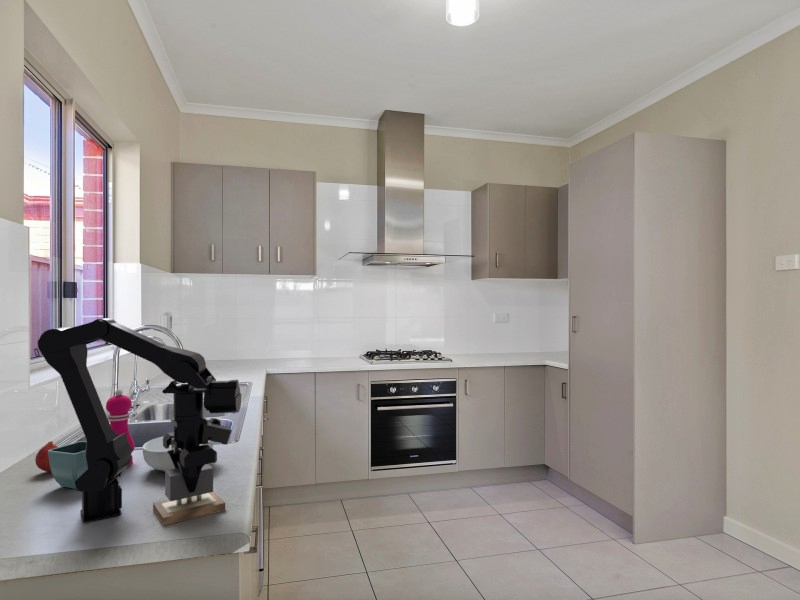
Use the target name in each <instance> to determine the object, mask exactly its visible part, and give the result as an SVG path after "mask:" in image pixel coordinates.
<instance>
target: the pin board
mask: <svg viewBox="0 0 800 600" xmlns="http://www.w3.org/2000/svg"><path fill="white" fill-rule="evenodd" d="M152 504H153V505H152V510H153V512H154V514H155V515H156V517H157V518H158V519H159V521H160V523H161V524H162V526H167V525H171V524H175V523H178V522H182V521H186V520H190V519H194V518H200V517H202V516H207V515H211V514H215V513H218V512H222V511H226V502H225V501H224V500H223V499H222V498H221V497H220V496H219V495H218V494H217V493H216V492H215V491H214V490H213V492H210V493H206V494H202V500H201V501H197V496H193V497H192V502H191V503H187V498H184V499H182V505H180V506H177V505H176V500H175V501H171V502H170V500H169V499H168V498H167V499H164V500H160V501H156V502H155V501H154V502H153V503H152Z"/></svg>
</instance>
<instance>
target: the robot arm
mask: <svg viewBox="0 0 800 600" xmlns="http://www.w3.org/2000/svg"><path fill="white" fill-rule="evenodd" d="M101 340H102V341H104V342H107V343H109V344H111V345H113V346H116V347H117V348H120V349H122V350H124V351H127V352H129V353H131V354H132V355H135V356H136V357H139V358H142V359H143V360H145V361H147V362H150V363H152V364H154V366H156V367H158V368H159V370H161V372H162V373H163V374H165V375H166V376H168V377H169V378H171V379H172V381H170V382H169V384H168V385H167V386H166V387H165V388H164V389H162V391H161V392H162V394H173V417H171V419H170V424H172V425H173V431H172V432H171V431H170V432H167V433H166V434H165V435H163V436H164V437H163V436H162V437H163V447H164V448H165V449H168V448H169V445H171V450H170V451H167V453H168V455H169V457H170V459H171V461H172V463H173V465H174V467H175V468H179V469H180V471H181V474H182V476H183V479H184V481H185V484H186V486H187V489H188V491H189V492H190V493H191V492H195V489H196V486H197V482H198V479H199V475H200V472H201V469H202V467H203V466H204V465H205V464H209V465H210V464H214V463H217V462H218V452H217V451H216V450H215V449H214V448H213V449H212V448H211V447H210V446H209V445H201V446H200V444H208V440H209V441H213V443H214V442H215V443H221V444H222V445H226V446H227V445H228V443H229V441H230V438H231V434H232V432H233V431H232V430H233V429H232V428H230V427H228V426H226V425H222V424H221V420H220V419H218V418H216V417H215V418H214V417H211V418H210V419H209V420H208V419H207V418H206V417H204V408H205V411H208V412H209V413H210V414H227V413H228V414H232V413H233V414H234V413H236V414H237V413H240V410H241V406H242V392H241V388H240V385H239V379H230V380H217V379H216V378H215V376H214V375H213V374H212V373H211V371H210V370H209V368H208V367H207V366H206V360H205V357H204V356H203V355H202V354H201V353H199V352H196V351H191V350H188V349H184V348H180V347H173V346H170V345H167V344H164V343H162V342H160V341H157V340H155V339H153V338H151V337H148V336H146V335H144V334H142V333H140V332H138V331H136V330H133V328H130V327H127V326H125V325H123V324H121V323H119V322H117V321H116V320H115V319H112V318H110V317H109V318H108V317H107V318H97V319H94V320H93V321H91V322H87V323H84V324H80V325H75V326H65V327H58V328H57V327H56V328H51V329H47V330H46V331H43V332H42V333H41V335H40V337H39V338H38V340H37V348H38V350H39V352H40V354H41V355H42V357H43V358H44V360H45V362H46V363H47V364H48V365H49V366H50V367H51V368H52V369H53V370H54V371H56V372H57V373H58V374H59V376H60V377H61V380H62V382H63V385H64V388H65V390H66V392H67V394H68V398H69V401H70V402H71V405H72V408H73V410H74V412H75V415H76V417H77V419H78V422H79V425H80V427H81V429H82V432H83V435H84V436H85V441H86V454H85V458H86V463H87V468H88V469H87V470H86V471H85V472H84V473H83V474H82V475H81V476H80V477H79V478H78V479H77V480H76V481H75V486H76V488H77V489H76V490H77V492H78V493H80V492H81V509H80V511H79V512H80V515H81V518H82V522H83V523H89V522H93V521H99V520H102V519H105V518H110V517H114V516H119V515H121V513H122V512H121V509H122V508H123V489H122V487H121V485H120V482H119V480H118V478H120V477H121V476H122V474H123V471H124V470H125V469H126V468H127V467H129V466H130V465H129V463H130V461H131V459H132V457H133V455H132V453H131V451H132V450H133V448H132V447H131V446H130V445H129V442H128V438H127V435H126V433H123V434H122V435H120V436H119V435H118V434H117V433H116V432H114V431H113V430H112V428H111V426H110V421H109V420H108V415H107V414H106V411H105V409H104V406H103V404H102V402H101V399H100V396H99V394H98V392H97V389H96V387H95V384H94V382H93V381H94V380H93V379H92V377H91V373H90V371H89V369H88V366H87V363H88V347H87V345H89V344H92V343H96V342H97V341H101ZM128 465H129V466H128Z"/></svg>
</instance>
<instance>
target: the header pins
mask: <svg viewBox="0 0 800 600" xmlns="http://www.w3.org/2000/svg"><path fill="white" fill-rule="evenodd" d="M201 500H202V494H201V495H197V501H201ZM191 502H192V497H188V498H187V503H191ZM176 505H177V506H180V505H182V499H180V500H176Z"/></svg>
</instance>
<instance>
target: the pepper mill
mask: <svg viewBox="0 0 800 600" xmlns="http://www.w3.org/2000/svg"><path fill="white" fill-rule="evenodd" d="M123 392H124V391H123V390H122V389H120V388H119V389H116V390H115V391H114V394H115V395H113V396H111V397H109V398H108V399H107V401H106V402H105V403H106V404H105V410H106V411H107V412H108V415H107V419H108V421H109V424H110V426H111V428H112V430H113V431H114V432H116V433H117V434H118V435H119V436H120V435H122V434H123V433H126V435H127V438H128V442H129V445H130V446H131V447H132V448H133V450H132V451H131V454H132V453H133V452H134V451H135V448H136V447H135V441H134V439H133V437H132V435H131V433H130V431H129V426H128V425H129V419H130V418H131V416H130V414H131V413H130V412H129V411H130V410H131V408H132V406H133V405H132V404H133V403H132V400H131V398H130V397H129V396H127V395H124V394H123ZM133 459H134V458H133V456H132V459H131V461H130V463H129V465H128V466H127V467H129V466H131V465H132V464H133V462H134V461H133Z"/></svg>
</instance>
